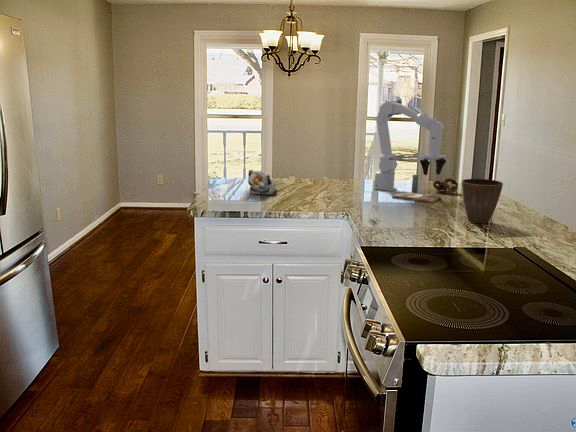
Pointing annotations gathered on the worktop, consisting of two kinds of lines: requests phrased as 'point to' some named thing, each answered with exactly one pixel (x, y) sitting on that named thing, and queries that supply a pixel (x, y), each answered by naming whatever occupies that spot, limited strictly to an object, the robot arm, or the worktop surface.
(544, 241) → the worktop surface
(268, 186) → the grey piece
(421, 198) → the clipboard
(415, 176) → the marker
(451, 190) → the reddish-brown lumpy part
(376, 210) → the worktop surface
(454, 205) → the worktop surface
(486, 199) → the plant pot
